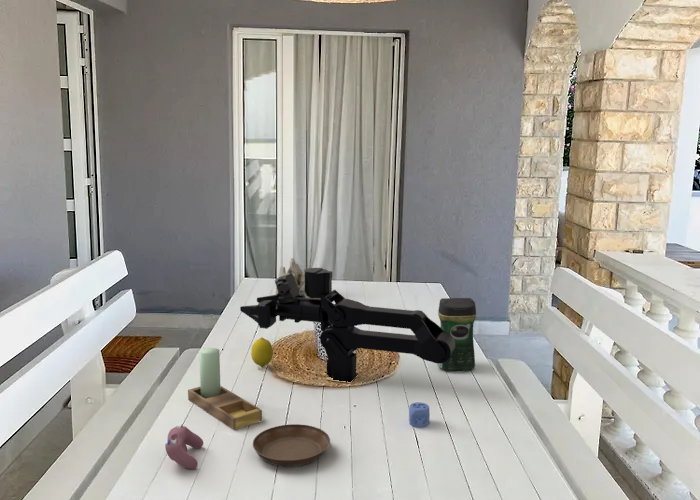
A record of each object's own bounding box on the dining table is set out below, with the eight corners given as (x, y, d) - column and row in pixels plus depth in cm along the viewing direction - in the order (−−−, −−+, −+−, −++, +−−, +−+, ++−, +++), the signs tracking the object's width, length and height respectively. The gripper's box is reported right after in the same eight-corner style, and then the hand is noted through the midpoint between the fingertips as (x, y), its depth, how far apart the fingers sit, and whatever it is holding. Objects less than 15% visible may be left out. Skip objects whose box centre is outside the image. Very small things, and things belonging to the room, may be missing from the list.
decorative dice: (409, 419, 147) (409, 401, 146) (427, 419, 147) (428, 402, 146) (410, 427, 143) (410, 409, 142) (429, 428, 143) (429, 410, 142)
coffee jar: (469, 362, 182) (472, 294, 179) (477, 372, 175) (480, 302, 171) (433, 362, 182) (436, 294, 178) (439, 373, 174) (442, 302, 170)
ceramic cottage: (265, 302, 241) (268, 260, 238) (295, 294, 255) (298, 255, 252) (300, 311, 233) (303, 268, 230) (329, 303, 246) (332, 262, 243)
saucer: (258, 477, 123) (258, 463, 122) (248, 441, 137) (247, 428, 136) (338, 467, 127) (338, 453, 126) (320, 432, 141) (320, 420, 140)
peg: (224, 399, 157) (223, 349, 154) (214, 406, 153) (212, 355, 150) (207, 396, 158) (205, 346, 156) (197, 404, 154) (195, 352, 152)
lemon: (269, 371, 174) (268, 341, 173) (248, 370, 175) (247, 340, 174) (275, 364, 179) (275, 335, 178) (255, 362, 181) (255, 333, 179)
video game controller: (185, 453, 134) (167, 424, 133) (205, 443, 134) (188, 413, 133) (176, 479, 125) (157, 448, 123) (199, 468, 125) (180, 436, 123)
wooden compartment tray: (188, 399, 156) (187, 389, 156) (215, 392, 161) (215, 382, 160) (233, 429, 141) (233, 418, 141) (262, 420, 146) (261, 410, 145)
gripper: (319, 270, 178) (264, 266, 182) (290, 286, 160) (230, 281, 165) (319, 311, 180) (265, 306, 184) (290, 331, 162) (231, 325, 167)
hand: (249, 304), depth 175 cm, fingers open, 9 cm apart
